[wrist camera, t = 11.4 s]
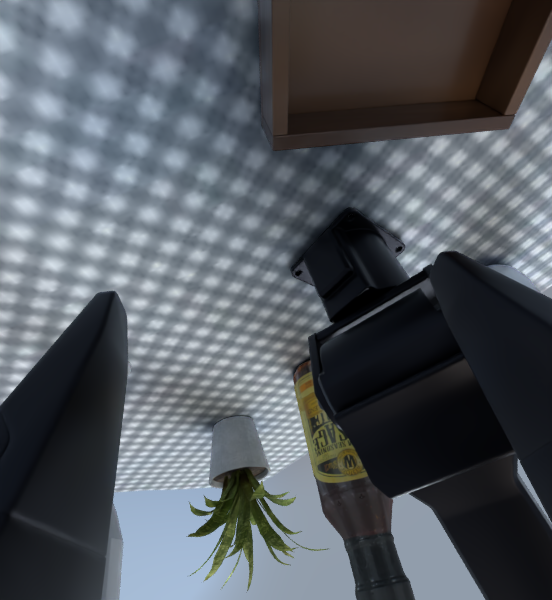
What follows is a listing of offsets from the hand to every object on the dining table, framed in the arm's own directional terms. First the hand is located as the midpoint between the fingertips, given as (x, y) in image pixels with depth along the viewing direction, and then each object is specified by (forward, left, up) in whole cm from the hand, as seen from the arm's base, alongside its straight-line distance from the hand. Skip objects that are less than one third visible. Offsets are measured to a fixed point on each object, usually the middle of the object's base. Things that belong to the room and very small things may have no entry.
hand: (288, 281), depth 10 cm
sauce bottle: (-21, +16, -12) cm, 30 cm away
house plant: (-20, +29, -12) cm, 38 cm away
